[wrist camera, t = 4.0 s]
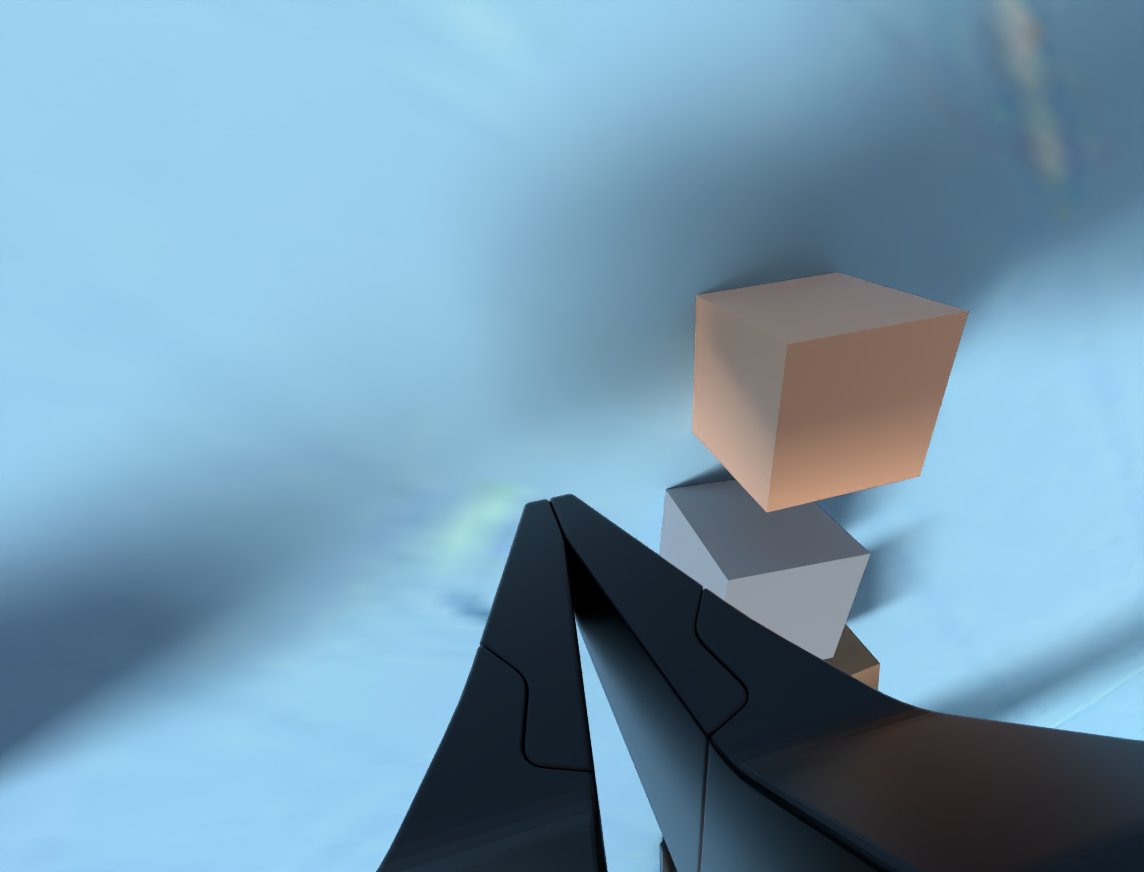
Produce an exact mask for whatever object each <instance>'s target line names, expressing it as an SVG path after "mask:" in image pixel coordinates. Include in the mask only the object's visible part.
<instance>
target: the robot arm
mask: <svg viewBox="0 0 1144 872" xmlns="http://www.w3.org/2000/svg"><path fill="white" fill-rule="evenodd" d="M703 589H704V588H703V586H702V585H701V584H700V583H698V582H697V581H695V580H694V579H692V578H691V577H690V576H688V575H687V574H685V573H684V572H683V571H681V570H680V569H678V568H677V567H675V566H674V565H673V564H671V563H670V562H668V561H667V560H665V559H664V558H663V557H661V556H660V555H658V554H657V553H655V552H654V551H653V550H651V549H650V548H648V547H647V546H646V545H644V544H643V543H641V542H640V541H638V540H637V539H636V538H634V537H633V536H631V535H630V534H628V533H627V532H626V531H624V530H623V529H621V528H620V527H619V526H617V525H616V524H614V523H613V522H611V521H610V520H609V519H607V518H606V517H604V516H603V515H601V514H600V513H599V512H597V511H596V510H594V509H593V508H591V507H590V506H589V505H587V504H586V503H584V502H583V501H582V500H580V499H579V498H577V497H576V496H574V495H573V494H566V495H562V496H557V497H553V498H551V499H550V502H549V501H548V500H546V499H543V500H539V501H534V502H529V503H527V504H526V505H525V507H524V510H523V513H522V516H521V519H520V522H519V525H518V528H517V531H516V534H515V537H514V540H513V543H512V546H511V549H510V552H509V556H508V559H507V562H506V565H505V568H504V571H503V574H502V577H501V580H500V583H499V586H498V589H497V592H496V595H495V598H494V601H493V604H492V607H491V610H490V614H489V617H488V620H487V623H486V626H485V629H484V632H483V635H482V638H481V641H480V647H479V648H478V649H477V652H476V655H475V659H474V662H473V665H472V668H471V671H470V673H469V676H468V679H467V681H466V684H465V687H464V690H463V692H462V695H461V698H460V700H459V703H458V705H457V707H456V709H455V712H454V714H453V716H452V718H451V721H450V723H449V725H448V727H447V730H446V732H445V734H444V736H443V739H442V741H441V743H440V745H439V747H438V749H437V751H436V753H435V755H434V757H433V759H432V762H431V764H430V766H429V768H428V770H427V772H426V774H425V776H424V778H423V780H422V783H421V785H420V787H419V789H418V791H417V793H416V795H415V797H414V799H413V801H412V803H411V806H410V808H409V810H408V812H407V814H406V816H405V818H404V820H403V822H402V824H401V827H400V829H399V831H398V833H397V835H396V837H395V839H394V841H393V843H392V845H391V847H390V849H389V851H388V852H387V854H386V856H385V858H384V859H383V861H382V863H381V865H380V866H379V868H378V869H377V871H376V872H608V871H607V863H606V856H605V848H604V840H603V832H602V824H601V817H600V809H599V801H598V793H597V785H596V778H595V770H594V762H593V754H592V747H591V739H590V731H589V723H588V715H587V708H586V700H585V692H584V684H583V676H582V669H581V661H580V653H579V645H578V638H577V630H576V622H577V625H578V627H579V630H580V633H581V635H582V638H583V640H584V643H585V645H586V647H587V650H588V652H589V655H590V657H591V660H592V662H593V665H594V667H595V670H596V672H597V675H598V677H599V679H600V682H601V684H602V687H603V689H604V692H605V694H606V697H607V699H608V702H609V704H610V707H611V709H612V711H613V714H614V716H615V719H616V721H617V724H618V726H619V729H620V731H621V734H622V736H623V739H624V741H625V744H626V746H627V748H628V751H629V753H630V756H631V758H632V761H633V763H634V766H635V768H636V771H637V773H638V776H639V778H640V780H641V783H642V785H643V788H644V790H645V793H646V795H647V798H648V800H649V803H650V805H651V808H652V810H653V812H654V815H655V817H656V820H657V822H658V825H659V827H660V830H661V832H662V835H663V837H664V841H662V842H661V843H660V872H1144V741H1141V740H1132V739H1125V738H1118V737H1110V736H1103V735H1096V734H1089V733H1082V732H1075V731H1067V730H1060V729H1053V728H1046V727H1039V726H1031V725H1024V724H1017V723H1010V722H1003V721H995V720H988V719H981V718H974V717H967V716H960V715H952V714H945V713H939V712H934V711H930V710H926V709H922V708H918V707H916V706H913V705H910V704H907V703H904V702H901V701H899V700H897V699H895V698H892V697H890V696H888V695H885V694H884V693H882V692H880V691H878V690H876V689H874V688H872V687H870V686H868V685H867V684H865V683H863V682H861V681H859V680H858V679H856V678H854V677H852V676H851V675H849V674H847V673H845V672H843V671H842V670H840V669H838V668H836V667H835V666H833V665H831V664H829V663H827V662H826V661H824V660H822V659H820V658H819V657H817V656H815V655H813V654H811V653H810V652H808V651H806V650H804V649H803V648H801V647H799V646H797V645H795V644H794V643H792V642H790V641H788V640H787V639H785V638H783V637H781V636H780V635H778V634H776V633H775V632H773V631H771V630H770V629H768V628H766V627H765V626H763V625H761V624H760V623H758V622H756V621H754V620H753V619H751V618H750V617H748V616H747V615H745V614H744V613H742V612H741V611H739V610H738V609H736V608H735V607H733V606H732V605H730V604H729V603H727V602H726V601H724V600H723V599H721V598H720V597H718V596H717V595H716V594H714V593H713V592H711V591H710V590H708V589H706V588H705V589H704V590H703ZM575 619H576V622H575Z"/></svg>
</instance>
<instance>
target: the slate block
mask: <svg viewBox="0 0 1144 872" xmlns="http://www.w3.org/2000/svg"><path fill="white" fill-rule="evenodd" d="M659 555H660V556H661V557H663V558H664V559H665V560H667V561H668V562H670V563H671V564H673V565H674V566H675V567H677V568H678V569H680V570H681V571H683V572H684V573H685V574H687V575H688V576H690V577H691V578H692V579H694V580H695V581H697V582H698V583H700V584H701V585H702V586H703V588H704V589H705V588H706V589H708V590H710V591H711V592H713V593H714V594H716V595H717V596H718V597H720V598H721V599H723V600H724V601H726V602H727V603H729V604H730V605H732V606H733V607H735V608H736V609H738V610H739V611H741V612H742V613H744V614H745V615H747V616H748V617H750V618H751V619H753V620H754V621H756V622H758V623H760V624H761V625H763V626H765V627H766V628H768V629H770V630H771V631H773V632H775V633H776V634H778V635H780V636H781V637H783V638H785V639H787V640H788V641H790V642H792V643H794V644H795V645H797V646H799V647H801V648H803V649H804V650H806V651H808V652H810V653H811V654H813V655H815V656H817V657H819V658H820V659H822V660H824V659H828V658H832V657H833V656H834V653H835V651H836V648H837V645H838V642H839V639H840V637H841V634H842V631H843V628H844V626H845V623H846V620H847V617H848V615H849V612H850V609H851V606H852V604H853V601H854V598H855V595H856V593H857V590H858V587H859V584H860V581H861V579H862V576H863V573H864V570H865V568H866V565H867V562H868V559H869V557H870V553H869V552H868V551H867V550H866V549H865V548H864V547H863V546H862V545H861V544H860V543H859V542H857V541H856V540H855V539H854V538H853V537H852V536H851V535H850V534H849V533H848V532H847V531H846V530H844V529H843V528H842V527H841V526H840V525H839V524H838V523H837V522H836V521H835V520H834V519H833V518H831V517H830V516H829V515H828V514H827V513H826V512H825V511H824V510H823V509H822V508H821V507H820V506H819V505H817V504H816V503H815V502H814V501H813V502H809V503H805V504H801V505H797V506H792V507H788V508H784V509H780V510H775V511H771V512H766V511H765V510H764V509H763V508H762V507H761V506H760V505H759V504H758V503H757V502H756V500H755V499H754V498H753V497H752V496H751V495H750V494H749V493H748V492H747V491H746V490H745V489H744V488H743V486H742V485H741V484H740V483H739V482H738V481H737V480H736V479H732V480H726V481H719V482H712V483H705V484H698V485H692V486H685V487H678V488H671V489H666V492H665V502H664V512H663V522H662V532H661V542H660V552H659ZM704 589H703V590H704Z"/></svg>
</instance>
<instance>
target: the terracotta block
mask: <svg viewBox="0 0 1144 872" xmlns="http://www.w3.org/2000/svg"><path fill="white" fill-rule="evenodd" d="M968 312H969V311H967V310H963V309H960V308H957V307H953V306H950V305H946V304H943V303H940V302H936V301H933V300H930V299H926V298H923V297H920V296H916V295H913V294H909V293H906V292H903V291H899V290H896V289H893V288H889V287H886V286H883V285H879V284H876V283H872V282H869V281H866V280H862V279H859V278H856V277H852V276H849V275H846V274H842V273H839V272H835V273H829V274H822V275H816V276H810V277H804V278H797V279H791V280H785V281H779V282H773V283H766V284H760V285H754V286H748V287H742V288H735V289H729V290H723V291H717V292H711V293H704V294H698V295H696V321H695V356H694V390H693V424H692V433H693V434H694V435H695V436H696V437H697V438H698V439H699V440H700V441H701V442H702V443H703V444H704V445H705V447H706V448H707V449H708V450H709V451H710V452H711V453H712V454H713V455H714V456H715V457H716V458H717V459H718V461H719V462H720V463H721V464H722V465H723V466H724V467H725V468H726V469H727V470H728V471H729V472H730V474H731V475H732V476H733V477H734V478H735V479H736V480H737V481H738V482H739V483H740V484H741V485H742V486H743V488H744V489H745V490H746V491H747V492H748V493H749V494H750V495H751V496H752V497H753V498H754V499H755V500H756V502H757V503H758V504H759V505H760V506H761V507H762V508H763V509H764V510H765V511H766V512H771V511H775V510H780V509H784V508H788V507H792V506H797V505H801V504H805V503H809V502H813V501H818V500H822V499H826V498H830V497H834V496H839V495H843V494H847V493H851V492H856V491H860V490H864V489H868V488H872V487H877V486H881V485H885V484H889V483H893V482H898V481H902V480H906V479H910V478H915V477H919V476H920V474H921V470H922V467H923V463H924V460H925V457H926V453H927V450H928V447H929V443H930V440H931V436H932V433H933V430H934V426H935V423H936V420H937V416H938V413H939V410H940V406H941V403H942V399H943V396H944V393H945V389H946V386H947V383H948V379H949V376H950V372H951V369H952V366H953V362H954V359H955V356H956V352H957V349H958V345H959V342H960V339H961V335H962V332H963V329H964V325H965V322H966V319H967V315H968Z"/></svg>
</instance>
